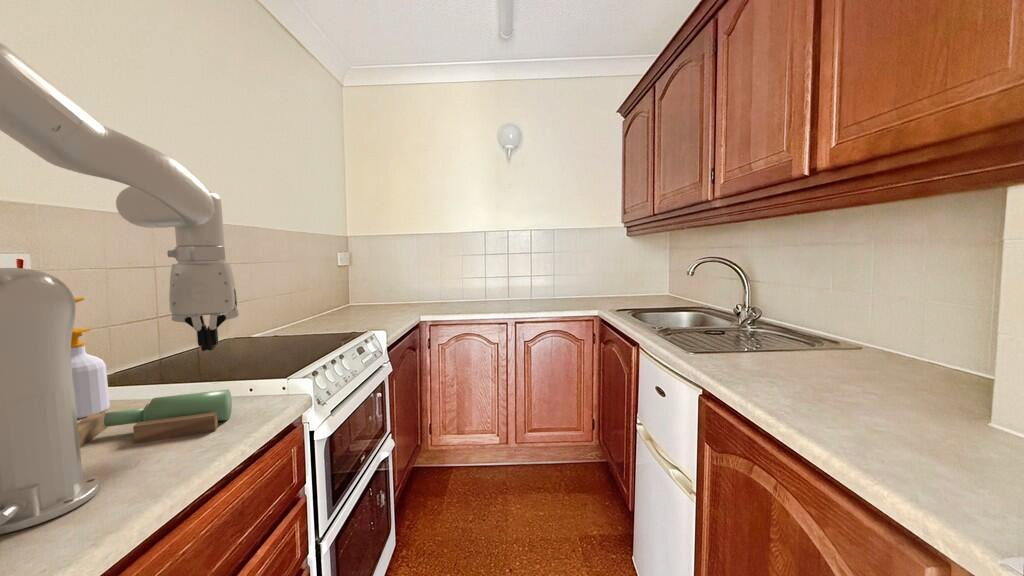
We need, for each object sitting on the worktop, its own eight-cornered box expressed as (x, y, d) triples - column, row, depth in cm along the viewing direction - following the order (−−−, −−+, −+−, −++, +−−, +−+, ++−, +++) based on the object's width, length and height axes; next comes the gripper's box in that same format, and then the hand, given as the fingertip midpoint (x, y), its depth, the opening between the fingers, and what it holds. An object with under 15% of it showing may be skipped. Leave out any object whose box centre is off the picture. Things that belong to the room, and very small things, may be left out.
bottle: (223, 393, 82) (97, 407, 75) (224, 423, 82) (99, 441, 75) (230, 386, 88) (114, 399, 81) (232, 415, 88) (116, 430, 81)
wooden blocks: (215, 430, 79) (214, 415, 79) (59, 453, 71) (57, 436, 71) (229, 409, 90) (228, 395, 90) (96, 427, 82) (95, 412, 82)
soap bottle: (79, 421, 85) (66, 300, 83) (35, 421, 85) (21, 301, 83) (121, 405, 94) (111, 295, 92) (81, 405, 94) (70, 296, 92)
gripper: (145, 256, 75) (153, 357, 77) (243, 255, 81) (249, 349, 82) (161, 256, 82) (168, 349, 84) (250, 255, 88) (255, 342, 89)
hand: (208, 349), depth 83 cm, fingers closed
